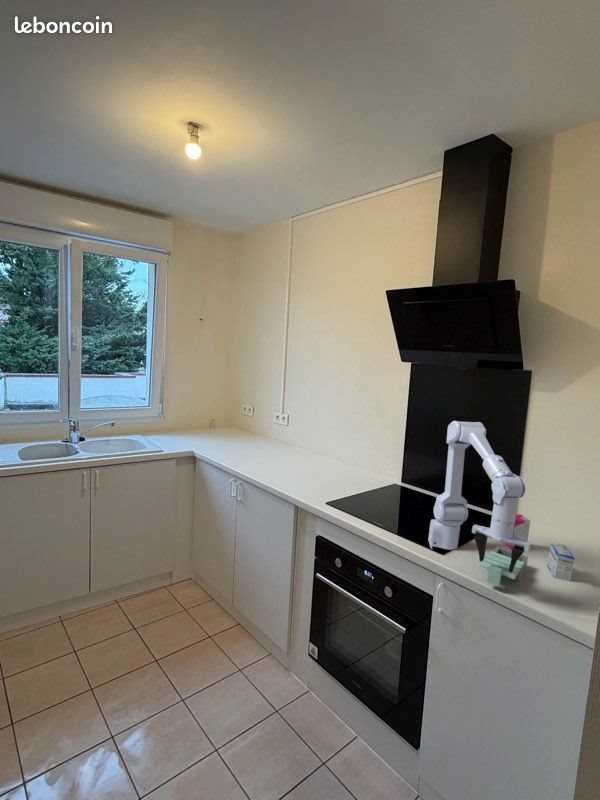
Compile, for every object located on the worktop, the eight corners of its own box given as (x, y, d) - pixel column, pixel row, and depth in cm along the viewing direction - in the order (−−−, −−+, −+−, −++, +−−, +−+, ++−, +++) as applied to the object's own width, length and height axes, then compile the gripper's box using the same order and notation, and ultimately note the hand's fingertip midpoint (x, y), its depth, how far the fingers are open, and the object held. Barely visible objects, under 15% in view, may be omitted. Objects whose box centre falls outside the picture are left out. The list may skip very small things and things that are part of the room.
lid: (475, 577, 118) (477, 562, 117) (489, 559, 129) (491, 546, 128) (510, 591, 112) (513, 575, 111) (522, 571, 123) (524, 557, 123)
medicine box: (546, 567, 132) (550, 542, 131) (562, 571, 131) (566, 545, 130) (553, 580, 125) (558, 553, 123) (570, 584, 123) (575, 556, 122)
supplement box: (516, 544, 147) (521, 513, 146) (526, 552, 141) (531, 520, 140) (501, 543, 147) (505, 512, 146) (510, 551, 141) (514, 519, 140)
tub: (485, 571, 126) (487, 558, 126) (495, 559, 135) (497, 546, 134) (518, 584, 121) (520, 569, 120) (525, 570, 129) (528, 557, 129)
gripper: (471, 514, 115) (464, 560, 116) (529, 532, 106) (521, 581, 107) (479, 507, 120) (472, 551, 122) (535, 524, 111) (527, 571, 113)
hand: (496, 565), depth 115 cm, fingers open, 7 cm apart
